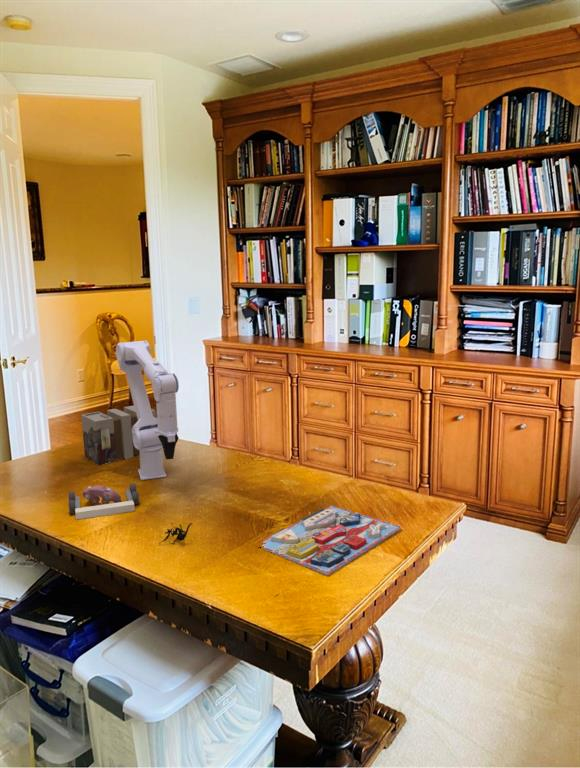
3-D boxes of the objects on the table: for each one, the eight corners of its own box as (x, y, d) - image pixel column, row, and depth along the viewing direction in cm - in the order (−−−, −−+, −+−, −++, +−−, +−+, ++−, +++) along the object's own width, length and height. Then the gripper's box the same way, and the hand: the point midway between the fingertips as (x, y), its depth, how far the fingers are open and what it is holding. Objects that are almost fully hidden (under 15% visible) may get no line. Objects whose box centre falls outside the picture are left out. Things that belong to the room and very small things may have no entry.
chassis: (69, 502, 176) (68, 490, 175) (135, 493, 182) (134, 481, 182) (69, 520, 164) (68, 508, 163) (140, 510, 170) (139, 498, 169)
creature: (153, 546, 151) (172, 549, 146) (149, 525, 151) (168, 527, 145) (179, 535, 157) (198, 538, 151) (175, 515, 156) (194, 516, 151)
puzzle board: (330, 509, 170) (330, 500, 170) (402, 532, 155) (402, 522, 155) (253, 548, 148) (252, 537, 148) (327, 579, 133) (327, 568, 133)
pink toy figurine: (85, 508, 176) (77, 491, 172) (92, 496, 179) (85, 479, 175) (116, 510, 174) (109, 494, 169) (123, 498, 177) (116, 482, 173)
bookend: (163, 452, 221) (160, 408, 218) (96, 468, 205) (92, 421, 202) (143, 442, 233) (140, 401, 230) (78, 457, 217) (74, 412, 214)
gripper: (150, 410, 187) (152, 453, 189) (156, 422, 173) (159, 467, 176) (173, 408, 189) (175, 450, 192) (181, 419, 175) (183, 464, 178)
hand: (169, 458), depth 184 cm, fingers closed
